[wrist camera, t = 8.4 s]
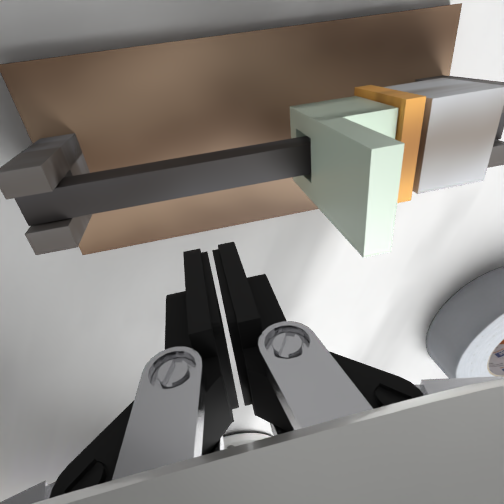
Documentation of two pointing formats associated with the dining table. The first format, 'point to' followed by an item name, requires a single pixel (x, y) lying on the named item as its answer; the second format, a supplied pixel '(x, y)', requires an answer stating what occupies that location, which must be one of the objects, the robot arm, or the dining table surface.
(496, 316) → the tape roll
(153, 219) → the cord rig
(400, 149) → the mint green stepped block
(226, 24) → the dining table surface
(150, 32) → the dining table surface
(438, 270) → the dining table surface
